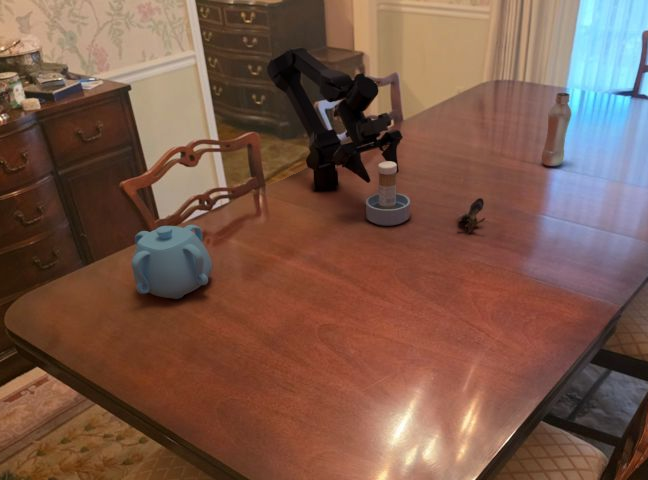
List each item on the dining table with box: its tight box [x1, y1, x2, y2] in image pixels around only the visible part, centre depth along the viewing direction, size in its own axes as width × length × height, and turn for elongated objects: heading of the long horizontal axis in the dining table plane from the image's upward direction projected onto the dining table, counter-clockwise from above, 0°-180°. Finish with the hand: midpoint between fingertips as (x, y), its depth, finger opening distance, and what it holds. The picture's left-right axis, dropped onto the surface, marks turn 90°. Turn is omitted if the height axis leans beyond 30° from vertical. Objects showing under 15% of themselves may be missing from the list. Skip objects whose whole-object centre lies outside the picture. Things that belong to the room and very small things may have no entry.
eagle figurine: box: [456, 197, 486, 235], centre depth 152 cm, size 8×7×9 cm
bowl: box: [365, 192, 411, 227], centre depth 158 cm, size 11×11×4 cm
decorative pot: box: [131, 224, 213, 300], centre depth 131 cm, size 16×16×14 cm
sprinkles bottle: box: [377, 160, 397, 210], centre depth 155 cm, size 5×5×14 cm
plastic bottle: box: [541, 92, 572, 167], centre depth 179 cm, size 6×7×20 cm
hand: (383, 177), depth 154 cm, fingers open, 9 cm apart
